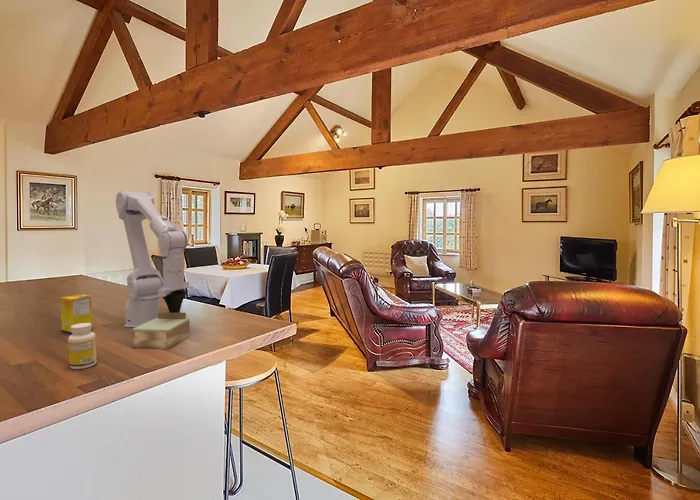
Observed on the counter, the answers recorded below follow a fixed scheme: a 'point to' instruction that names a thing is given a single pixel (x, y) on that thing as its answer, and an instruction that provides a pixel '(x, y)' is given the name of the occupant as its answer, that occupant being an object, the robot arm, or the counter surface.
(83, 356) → the supplement bottle
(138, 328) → the lid
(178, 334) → the box
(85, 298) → the supplement box
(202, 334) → the counter surface
